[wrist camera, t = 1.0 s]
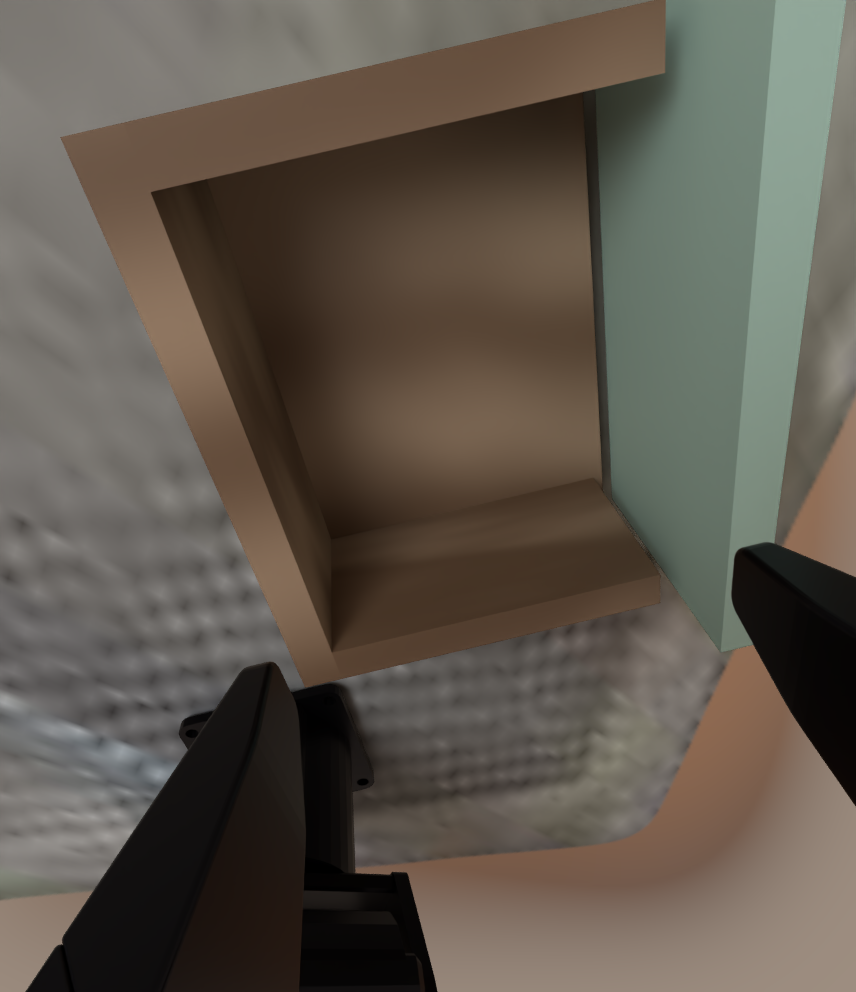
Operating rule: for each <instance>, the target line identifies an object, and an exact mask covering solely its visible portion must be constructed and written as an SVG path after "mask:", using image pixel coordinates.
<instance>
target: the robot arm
mask: <svg viewBox="0 0 856 992" xmlns="http://www.w3.org/2000/svg"><path fill="white" fill-rule="evenodd" d="M731 598H732V603H733V607H734V609H735V612H736V614H737V616H738V617H739V619H740V621H741V623H742V625H743V627H744V628H745V630H746V632H747V634H748V636H749V638H750V639H751V641H752V643H753V645H754V647H755V649H756V650H757V652H758V654H759V656H760V658H761V659H762V661H763V663H764V665H765V667H766V669H767V670H768V672H769V674H770V676H771V678H772V680H773V681H774V683H775V685H776V687H777V689H778V691H779V692H780V694H781V696H782V698H783V699H784V701H785V703H786V705H787V706H788V708H789V710H790V712H791V713H792V715H793V716H794V718H795V719H796V721H797V722H798V724H799V725H800V727H801V728H802V730H803V731H804V733H805V734H806V736H807V737H808V738H809V740H810V741H811V742H812V744H813V746H814V747H815V749H816V750H817V751H818V753H819V754H820V756H821V757H822V759H823V760H824V761H825V763H826V764H827V766H828V767H829V769H830V770H831V771H832V773H833V774H834V776H835V777H836V778H837V780H838V781H839V783H840V784H841V786H842V787H843V789H844V790H845V792H846V793H847V794H848V796H849V797H850V799H851V800H852V802H853V803H854V804H855V806H856V577H854V576H851V575H849V574H846V573H844V572H842V571H840V570H837V569H835V568H832V567H830V566H827V565H825V564H823V563H820V562H818V561H815V560H813V559H811V558H808V557H806V556H803V555H801V554H799V553H796V552H794V551H791V550H789V549H787V548H784V547H782V546H779V545H777V544H774V543H771V542H762V543H758V544H754V545H750V546H746V547H742V548H740V549H738V550H737V552H736V553H735V557H734V565H733V577H732V589H731ZM327 697H329V698H327ZM193 729H194V730H193ZM179 736H180V738H181V739H182V741H183V742H184V744H185V746H186V747H187V749H188V751H187V752H186V754H185V755H184V757H183V758H182V760H181V761H180V763H179V764H178V766H177V767H176V769H175V770H174V772H173V773H172V775H171V776H170V778H169V779H168V781H167V782H166V784H165V785H164V787H163V788H162V790H161V791H160V792H159V794H158V795H157V797H156V798H155V800H154V801H153V803H152V804H151V806H150V807H149V809H148V810H147V812H146V813H145V815H144V816H143V818H142V819H141V821H140V822H139V824H138V825H137V827H136V828H135V830H134V831H133V833H132V834H131V836H130V837H129V839H128V840H127V842H126V843H125V845H124V846H123V848H122V849H121V851H120V852H119V854H118V855H117V857H116V858H115V860H114V861H113V863H112V864H111V866H110V867H109V869H108V870H107V871H106V873H105V874H104V876H103V877H102V879H101V880H100V882H99V883H98V885H97V886H96V888H95V889H94V891H93V892H92V894H91V895H90V897H89V898H88V900H87V901H86V903H85V904H84V906H83V907H82V909H81V910H80V912H79V914H78V915H77V916H76V918H75V919H74V921H73V922H72V924H71V925H70V927H69V928H68V930H67V931H66V933H65V934H64V936H63V938H62V943H63V945H62V944H61V945H58V946H56V947H55V949H54V950H53V952H52V953H51V954H50V956H49V957H48V959H47V961H46V962H45V963H44V965H43V966H42V968H41V969H40V971H39V972H38V974H37V975H36V977H35V978H34V980H33V981H32V983H31V984H30V986H29V987H28V989H27V990H26V992H437V987H436V983H435V978H434V974H433V970H432V966H431V962H430V958H429V954H428V951H427V947H426V943H425V939H424V935H423V931H422V928H421V924H420V920H419V916H418V912H417V908H416V904H415V901H414V897H413V893H412V889H411V885H410V881H409V877H408V874H407V873H405V872H392V873H391V874H390V875H383V874H358V873H355V847H354V818H353V791H358V790H362V789H366V788H368V787H370V786H372V785H373V783H374V772H373V769H372V766H371V764H370V761H369V759H368V756H367V754H366V751H365V749H364V746H363V744H362V741H361V739H360V736H359V734H358V731H357V729H356V726H355V724H354V721H353V719H352V716H351V714H350V711H349V709H348V706H347V704H346V701H345V699H344V697H343V694H342V692H341V690H340V688H339V687H337V686H335V685H331V684H329V685H323V686H319V687H314V688H310V689H306V690H302V691H298V692H293V693H291V692H290V690H289V688H288V686H287V683H286V681H285V679H284V677H283V675H282V673H281V671H280V669H279V667H278V666H277V665H276V663H274V662H266V663H261V664H257V665H253V666H249V667H246V668H244V669H243V670H242V671H241V672H240V673H239V675H238V676H237V678H236V679H235V681H234V682H233V684H232V685H231V687H230V688H229V690H228V691H227V693H226V694H225V696H224V697H223V699H222V700H221V702H220V703H219V705H218V706H217V708H216V709H215V711H214V712H209V713H205V714H201V715H197V716H193V717H189V718H186V719H184V720H183V721H182V723H181V726H180V730H179Z"/></svg>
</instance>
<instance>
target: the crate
mask: <svg viewBox="0 0 856 992" xmlns="http://www.w3.org/2000/svg"><path fill="white" fill-rule="evenodd" d="M665 36H666V0H654V1H649V2H645V3H641V4H636V5H632V6H628V7H623V8H619V9H615V10H610V11H606V12H602V13H597V14H593V15H589V16H584V17H580V18H576V19H571V20H567V21H563V22H558V23H554V24H550V25H545V26H541V27H537V28H532V29H528V30H524V31H519V32H515V33H511V34H506V35H502V36H498V37H493V38H489V39H485V40H480V41H476V42H472V43H467V44H463V45H459V46H454V47H450V48H446V49H441V50H437V51H433V52H428V53H424V54H420V55H415V56H411V57H407V58H402V59H398V60H394V61H389V62H385V63H381V64H376V65H372V66H368V67H363V68H359V69H355V70H350V71H346V72H342V73H337V74H333V75H329V76H324V77H320V78H316V79H311V80H307V81H302V82H298V83H294V84H289V85H285V86H281V87H276V88H272V89H268V90H263V91H259V92H255V93H250V94H246V95H242V96H237V97H233V98H229V99H224V100H220V101H216V102H211V103H207V104H203V105H198V106H194V107H190V108H185V109H181V110H177V111H172V112H168V113H164V114H159V115H155V116H151V117H146V118H142V119H138V120H133V121H129V122H125V123H120V124H116V125H112V126H107V127H103V128H99V129H94V130H90V131H86V132H81V133H77V134H73V135H68V136H64V137H60V138H61V140H62V142H63V144H64V147H65V149H66V151H67V153H68V156H69V158H70V160H71V162H72V165H73V167H74V169H75V171H76V174H77V176H78V178H79V180H80V183H81V185H82V187H83V189H84V192H85V194H86V196H87V198H88V201H89V203H90V205H91V207H92V210H93V212H94V214H95V216H96V219H97V221H98V223H99V225H100V228H101V230H102V232H103V234H104V237H105V239H106V241H107V243H108V246H109V248H110V250H111V252H112V255H113V257H114V259H115V261H116V264H117V266H118V268H119V270H120V272H121V275H122V277H123V279H124V281H125V284H126V286H127V288H128V290H129V293H130V295H131V297H132V299H133V302H134V304H135V306H136V308H137V311H138V313H139V315H140V317H141V320H142V322H143V324H144V326H145V329H146V331H147V333H148V335H149V338H150V340H151V342H152V344H153V347H154V349H155V351H156V353H157V356H158V358H159V360H160V362H161V365H162V367H163V369H164V371H165V374H166V376H167V378H168V380H169V383H170V385H171V387H172V389H173V392H174V394H175V396H176V398H177V401H178V403H179V405H180V407H181V409H182V412H183V414H184V416H185V418H186V421H187V423H188V425H189V427H190V430H191V432H192V434H193V436H194V439H195V441H196V443H197V445H198V448H199V450H200V452H201V454H202V457H203V459H204V461H205V463H206V466H207V468H208V470H209V472H210V475H211V477H212V479H213V481H214V484H215V486H216V488H217V490H218V493H219V495H220V497H221V499H222V502H223V504H224V506H225V508H226V511H227V513H228V515H229V517H230V520H231V522H232V524H233V526H234V529H235V531H236V533H237V535H238V538H239V540H240V542H241V544H242V546H243V549H244V551H245V553H246V555H247V558H248V560H249V562H250V564H251V567H252V569H253V571H254V573H255V576H256V578H257V580H258V582H259V585H260V587H261V589H262V591H263V594H264V596H265V598H266V600H267V603H268V605H269V607H270V609H271V612H272V614H273V616H274V618H275V621H276V623H277V625H278V627H279V630H280V632H281V634H282V636H283V639H284V641H285V643H286V645H287V648H288V650H289V652H290V654H291V657H292V659H293V661H294V663H295V666H296V668H297V670H298V672H299V674H300V677H301V679H302V681H303V683H304V686H305V687H309V686H314V685H318V684H322V683H326V682H330V681H335V680H339V679H343V678H347V677H351V676H356V675H360V674H364V673H368V672H372V671H377V670H381V669H385V668H389V667H393V666H398V665H402V664H406V663H410V662H414V661H419V660H423V659H427V658H431V657H435V656H440V655H444V654H448V653H452V652H456V651H461V650H465V649H469V648H473V647H477V646H482V645H486V644H490V643H494V642H498V641H503V640H507V639H511V638H515V637H519V636H524V635H528V634H532V633H536V632H540V631H545V630H549V629H553V628H557V627H561V626H566V625H570V624H574V623H578V622H582V621H587V620H591V619H595V618H599V617H603V616H608V615H612V614H616V613H620V612H624V611H629V610H633V609H637V608H641V607H645V606H650V605H654V604H658V603H660V573H659V572H658V571H657V569H656V568H655V566H654V565H653V563H652V562H651V560H650V559H649V558H648V556H647V555H646V553H645V552H644V550H643V549H642V547H641V546H640V545H639V543H638V542H637V540H636V539H635V537H634V536H633V535H632V533H631V532H630V530H629V529H628V527H627V526H626V524H625V523H624V522H623V520H622V519H621V517H620V516H619V514H618V513H617V511H616V510H615V509H614V507H613V506H612V504H611V503H610V501H609V500H608V498H607V497H606V496H605V494H604V493H603V485H602V465H601V445H600V425H599V405H598V385H597V366H596V346H595V326H594V306H593V286H592V266H591V247H590V227H589V207H588V187H587V167H586V147H585V128H584V108H583V92H585V91H589V90H593V89H598V88H602V87H606V86H611V85H615V84H619V83H624V82H628V81H632V80H636V79H641V78H645V77H649V76H654V75H658V74H662V73H665Z"/></svg>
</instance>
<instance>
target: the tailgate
mask: <svg viewBox="0 0 856 992" xmlns="http://www.w3.org/2000/svg"><path fill="white" fill-rule="evenodd" d="M845 5H846V0H666V36H665V73H662V74H658V75H654V76H649V77H645V78H641V79H636V80H632V81H628V82H624V83H619V84H615V85H611V86H606V87H602V88H598V89H595V97H596V121H597V145H598V169H599V194H600V218H601V242H602V266H603V291H604V315H605V339H606V363H607V388H608V412H609V436H610V460H611V485H612V499H613V501H614V502H615V504H616V505H617V506H618V508H619V509H620V511H621V512H622V513H623V515H624V516H625V518H626V519H627V521H628V522H629V523H630V525H631V526H632V528H633V529H634V530H635V532H636V533H637V535H638V536H639V538H640V539H641V540H642V542H643V543H644V545H645V546H646V547H647V549H648V550H649V552H650V553H651V555H652V556H653V557H654V559H655V560H656V562H657V563H658V564H659V566H660V567H661V569H662V570H663V572H664V573H665V574H666V576H667V577H668V579H669V580H670V581H671V583H672V584H673V586H674V587H675V589H676V590H677V591H678V593H679V594H680V596H681V597H682V599H683V600H684V601H685V603H686V604H687V606H688V607H689V608H690V610H691V611H692V613H693V614H694V616H695V617H696V618H697V620H698V621H699V623H700V624H701V625H702V627H703V628H704V630H705V631H706V633H707V634H708V635H709V637H710V638H711V640H712V641H713V642H714V644H715V645H716V647H717V648H718V650H719V651H720V652H725V651H729V650H734V649H738V648H742V647H746V646H750V645H753V643H752V641H751V639H750V638H749V636H748V634H747V632H746V630H745V628H744V627H743V625H742V623H741V621H740V619H739V617H738V616H737V614H736V612H735V609H734V607H733V603H732V598H731V589H732V577H733V565H734V557H735V553H736V552H737V550H738V549H740V548H742V547H746V546H750V545H754V544H758V543H762V542H771V543H774V541H775V533H776V526H777V518H778V511H779V503H780V496H781V488H782V480H783V473H784V465H785V458H786V450H787V443H788V435H789V428H790V420H791V412H792V405H793V397H794V390H795V382H796V375H797V367H798V360H799V352H800V344H801V337H802V329H803V322H804V314H805V307H806V299H807V292H808V284H809V277H810V269H811V261H812V254H813V246H814V239H815V231H816V224H817V216H818V209H819V201H820V193H821V186H822V178H823V171H824V163H825V156H826V148H827V141H828V133H829V126H830V118H831V110H832V103H833V95H834V88H835V80H836V73H837V65H838V58H839V50H840V42H841V35H842V27H843V20H844V12H845Z"/></svg>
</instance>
